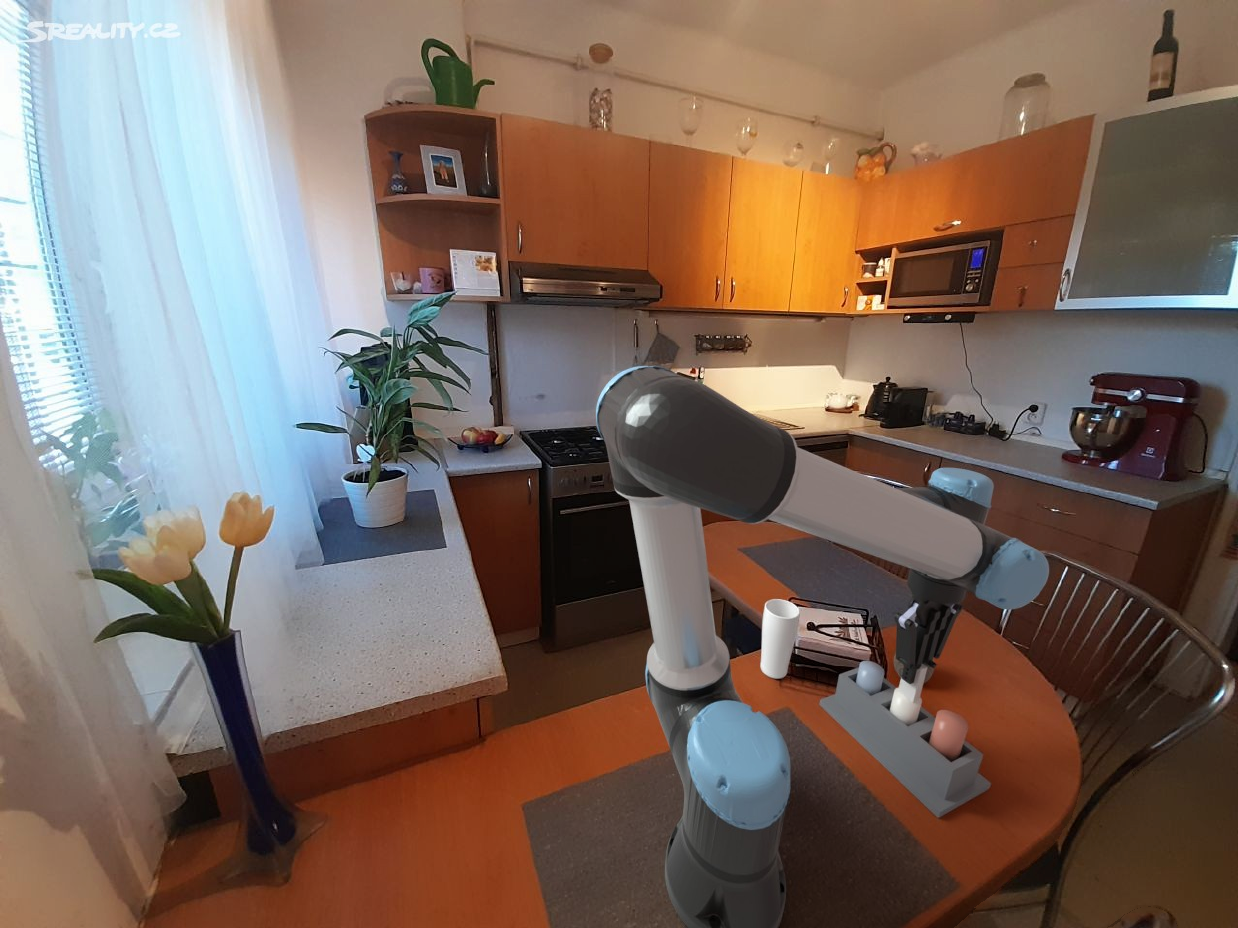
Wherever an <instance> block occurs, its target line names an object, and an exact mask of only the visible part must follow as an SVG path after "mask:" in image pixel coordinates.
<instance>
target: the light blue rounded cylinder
mask: <svg viewBox="0 0 1238 928" xmlns="http://www.w3.org/2000/svg"><path fill="white" fill-rule="evenodd" d="M884 676H885V670H884V668H883V667H882V666H881V665H879V663H876V662H874V661H870V660H863V661H861V662H860V663H859V670H858V675H857V680H856V684H857V685H858V686H860V687H861V688H862V689H863V690H864V691H866V692H867V693H868V694H869V695H870V696H872V695H874V694H877V693H879V692H880V690H881V686H882V682H883V678H885V677H884Z"/></svg>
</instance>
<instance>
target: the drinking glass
mask: <svg viewBox="0 0 1238 928" xmlns="http://www.w3.org/2000/svg"><path fill="white" fill-rule="evenodd" d="M800 614H801V610H800V608H799V607H798V605H796V604H794V603H792V602H791V601H788V600H785V599H779V598H773V599H769V600H767V601H766V602H765V603H764V608H763V614H762V621H761V651H760V652H761V654H760V655H761V656H760V664H759V665H760V666H759V667H760V670H761V672H762V673H763V674H764V675H765V676H767V677H769V678H771V679H777V680H778V679H780V680H781V679H783V678H784V677H785V676H787V674H788V669H789V664H790V660H791V656H792V653H793V649H794V646H795V642H796V639H797V634H798V630H799V624H800Z"/></svg>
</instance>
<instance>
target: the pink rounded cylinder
mask: <svg viewBox="0 0 1238 928" xmlns="http://www.w3.org/2000/svg"><path fill="white" fill-rule="evenodd" d="M935 718H936V719H935V723H934V726H933V730H932V733H931V737H930V741H929V745H931V746H932V747H933V748H934V749H935V750H937V751H938V752H939V753H940V754H942V755H943V756H944V757H945V758H946V759H948V760H949V761H950V762H953V761H955V760H957V759H959V756H960V753H961V749H962V746H963V743H964V740H965V738H966V735H967V733H968V730H969V724H968V722H967V720H966V719H964V717H962V715H960V714H958V713H956V712H954V711H951V710H947V709H940V710H938V711H937V712H936V717H935ZM965 741H966V740H965Z"/></svg>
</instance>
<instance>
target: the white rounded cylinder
mask: <svg viewBox="0 0 1238 928" xmlns="http://www.w3.org/2000/svg"><path fill="white" fill-rule="evenodd" d="M898 689H899V687H896V689H895V690H894V694H893V699H892V703H891V707H890V712H891V713H892V714H893V715H895V716H896V717H897V718H898V719H899V720H901V721H902V722H903V723H904V724H905V725H907V726H910V725H912V724H915V723H916V722H917V719H918V715H919V711H920V707H922V703H923V699H922V697H921V696H920V698H919V700H917V701H915V702H912V701H911V700H909V699H908V698H907V697H906V696H904V695H903V694H902V693H900V692H899V691H898Z"/></svg>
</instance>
